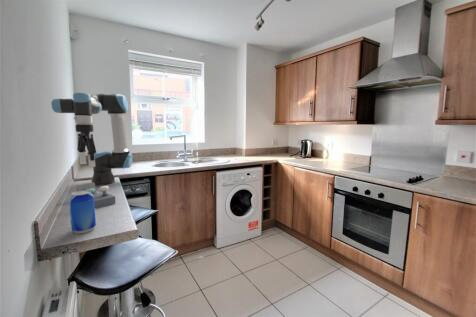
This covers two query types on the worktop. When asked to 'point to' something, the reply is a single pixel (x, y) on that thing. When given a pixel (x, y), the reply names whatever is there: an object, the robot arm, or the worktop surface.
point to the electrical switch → (86, 187)
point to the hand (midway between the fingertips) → (87, 165)
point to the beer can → (82, 211)
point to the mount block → (103, 200)
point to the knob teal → (91, 190)
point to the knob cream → (104, 190)
